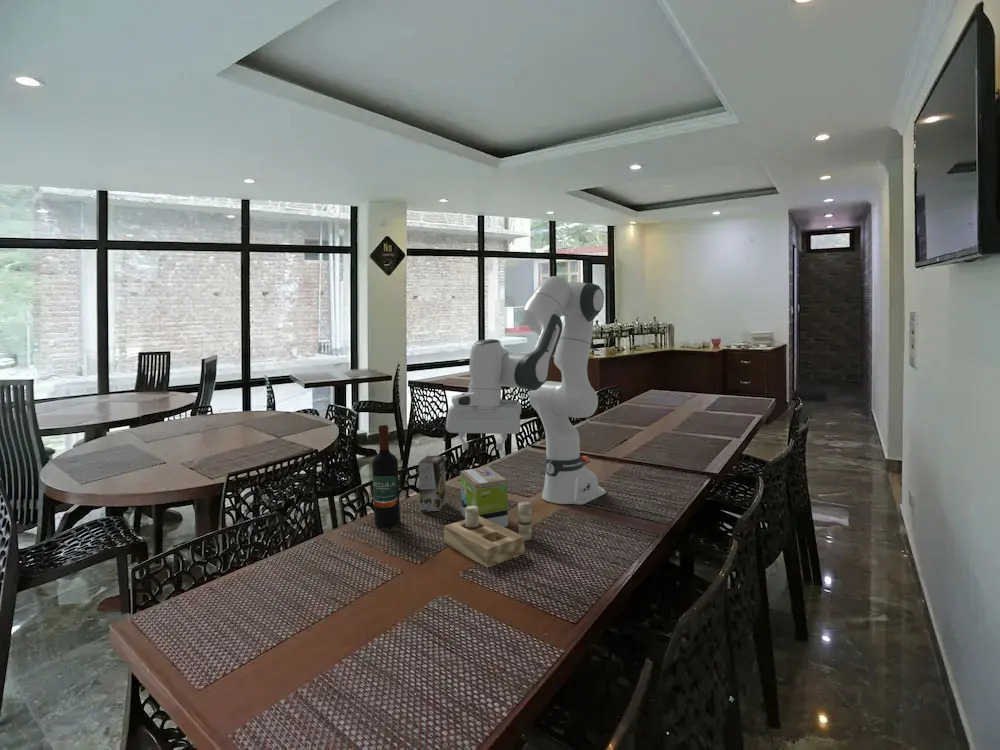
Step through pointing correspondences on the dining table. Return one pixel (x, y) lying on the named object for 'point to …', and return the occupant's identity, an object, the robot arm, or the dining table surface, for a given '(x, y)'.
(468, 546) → the wooden peg holder
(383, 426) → the wine bottle
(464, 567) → the dining table surface
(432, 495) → the coffee box
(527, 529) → the birch peg
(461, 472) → the tea box
